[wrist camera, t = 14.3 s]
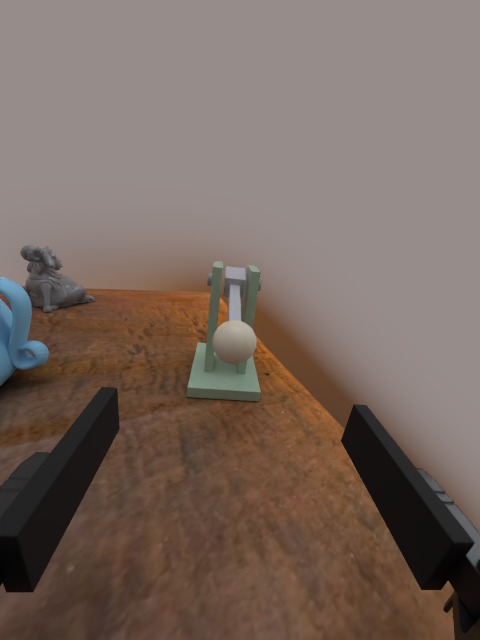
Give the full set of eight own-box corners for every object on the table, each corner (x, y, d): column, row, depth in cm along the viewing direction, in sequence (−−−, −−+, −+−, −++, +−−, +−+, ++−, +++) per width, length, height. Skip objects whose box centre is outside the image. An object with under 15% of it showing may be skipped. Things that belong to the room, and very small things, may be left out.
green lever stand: (259, 401, 27) (281, 280, 23) (186, 397, 27) (194, 270, 22) (249, 354, 38) (263, 263, 33) (197, 350, 37) (204, 256, 32)
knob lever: (253, 375, 20) (262, 343, 18) (209, 371, 20) (212, 338, 18) (246, 290, 30) (251, 264, 28) (217, 287, 30) (220, 260, 28)
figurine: (99, 302, 51) (95, 249, 48) (45, 313, 42) (36, 249, 39) (73, 293, 54) (68, 242, 51) (18, 301, 46) (7, 241, 42)
